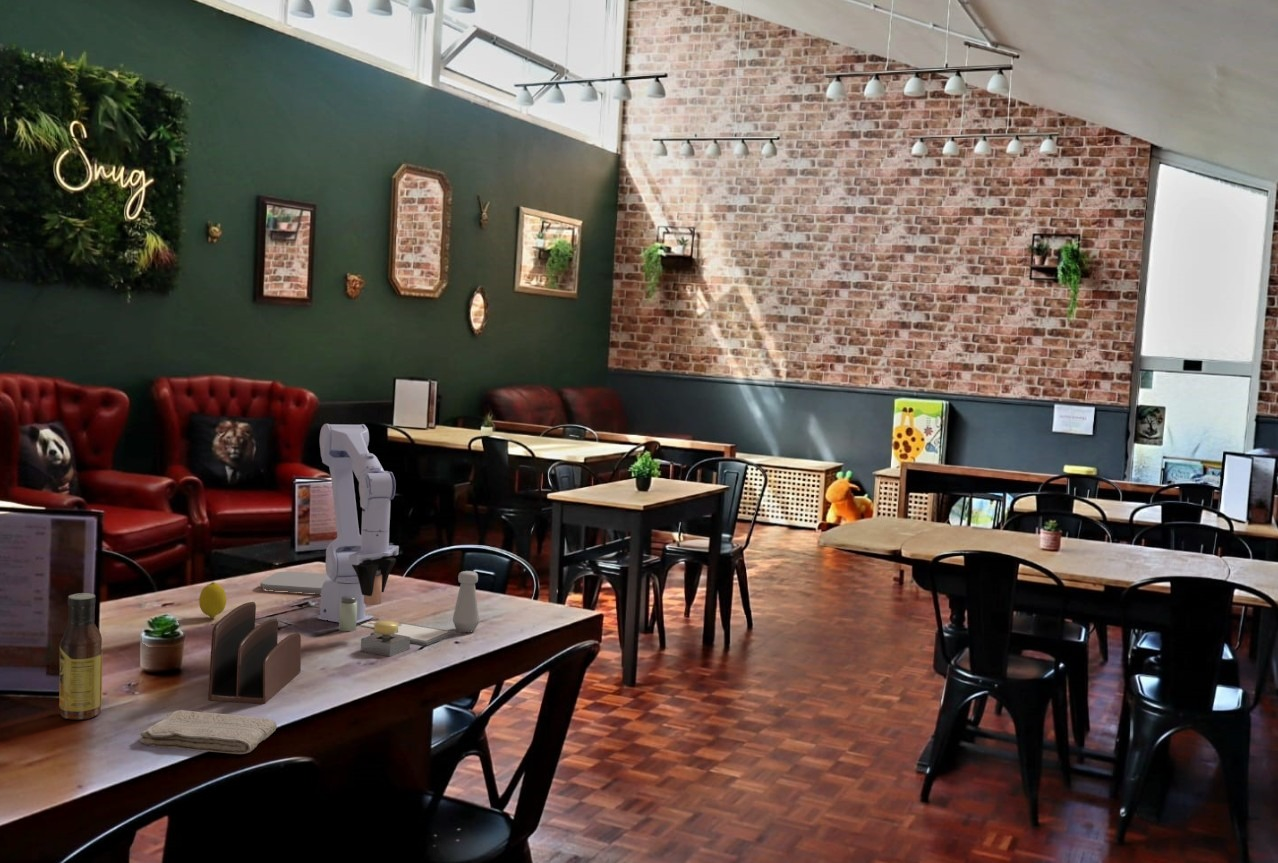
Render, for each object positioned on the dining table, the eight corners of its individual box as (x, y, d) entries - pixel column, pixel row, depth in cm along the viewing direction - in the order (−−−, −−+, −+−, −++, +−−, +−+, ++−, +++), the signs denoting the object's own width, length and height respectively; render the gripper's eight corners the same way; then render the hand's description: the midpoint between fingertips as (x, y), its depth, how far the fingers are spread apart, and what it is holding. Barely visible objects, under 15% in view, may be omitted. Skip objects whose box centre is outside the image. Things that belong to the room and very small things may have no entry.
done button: (368, 642, 238) (369, 624, 237) (382, 637, 242) (383, 619, 242) (388, 646, 236) (389, 627, 235) (402, 640, 240) (403, 623, 240)
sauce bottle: (68, 708, 193) (70, 589, 192) (107, 709, 194) (110, 591, 192) (51, 721, 187) (53, 598, 185) (92, 722, 187) (94, 600, 186)
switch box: (360, 651, 237) (361, 638, 237) (381, 643, 244) (381, 631, 243) (389, 656, 234) (390, 644, 234) (409, 648, 241) (410, 636, 241)
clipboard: (368, 635, 249) (369, 630, 249) (398, 624, 260) (398, 619, 259) (426, 645, 244) (426, 640, 244) (454, 634, 254) (455, 629, 254)
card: (360, 625, 257) (360, 624, 257) (371, 622, 261) (371, 620, 260) (379, 629, 255) (379, 627, 255) (390, 625, 259) (390, 623, 259)
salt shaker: (473, 634, 255) (476, 575, 254) (448, 632, 256) (451, 573, 255) (482, 628, 260) (485, 570, 259) (458, 625, 262) (460, 568, 261)
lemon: (193, 619, 255) (194, 582, 254) (211, 614, 260) (212, 578, 259) (213, 622, 253) (214, 586, 252) (231, 617, 258) (232, 581, 257)
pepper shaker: (360, 603, 247) (361, 570, 246) (370, 600, 250) (371, 567, 249) (374, 605, 245) (375, 572, 245) (384, 602, 249) (385, 569, 248)
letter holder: (207, 701, 201) (209, 620, 200) (248, 669, 221) (251, 595, 220) (265, 705, 201) (267, 624, 200) (301, 673, 221) (304, 599, 220)
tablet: (362, 600, 283) (362, 590, 283) (256, 593, 284) (256, 583, 284) (380, 586, 299) (380, 577, 299) (279, 579, 300) (279, 570, 300)
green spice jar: (335, 629, 252) (336, 597, 252) (345, 626, 256) (347, 594, 255) (349, 632, 251) (350, 600, 250) (359, 628, 254) (360, 597, 254)
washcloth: (171, 723, 190) (172, 705, 190) (279, 732, 189) (280, 713, 189) (135, 748, 179) (135, 728, 178) (249, 758, 177) (250, 738, 177)
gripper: (369, 536, 238) (367, 602, 239) (411, 527, 251) (408, 590, 252) (341, 532, 241) (339, 597, 242) (384, 523, 254) (381, 585, 255)
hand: (372, 593), depth 247 cm, fingers closed on pepper shaker, 4 cm apart
